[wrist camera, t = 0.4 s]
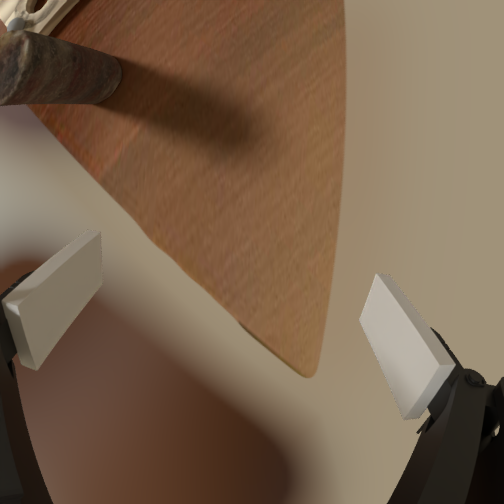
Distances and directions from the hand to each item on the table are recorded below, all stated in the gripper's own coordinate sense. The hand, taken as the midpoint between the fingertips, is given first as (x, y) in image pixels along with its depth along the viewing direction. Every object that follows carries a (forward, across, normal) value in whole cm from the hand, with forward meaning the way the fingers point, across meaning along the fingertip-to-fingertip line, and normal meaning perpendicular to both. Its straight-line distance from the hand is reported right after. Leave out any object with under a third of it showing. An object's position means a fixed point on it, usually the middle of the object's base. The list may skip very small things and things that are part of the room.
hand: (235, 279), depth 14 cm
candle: (+28, -22, +12) cm, 37 cm away
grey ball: (+24, -38, +21) cm, 49 cm away
